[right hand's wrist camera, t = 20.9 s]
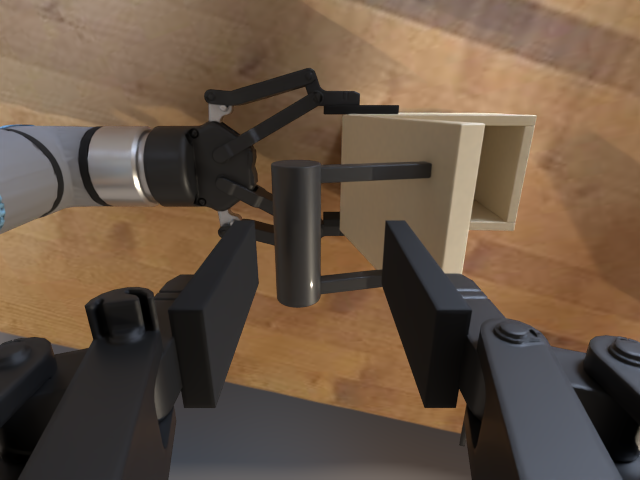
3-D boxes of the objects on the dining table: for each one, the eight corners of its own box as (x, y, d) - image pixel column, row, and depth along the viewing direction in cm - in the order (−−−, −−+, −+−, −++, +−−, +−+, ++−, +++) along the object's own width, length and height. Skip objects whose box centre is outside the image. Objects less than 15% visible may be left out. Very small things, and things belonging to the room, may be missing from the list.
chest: (485, 113, 39) (537, 115, 28) (471, 200, 42) (513, 231, 32) (346, 112, 40) (348, 114, 29) (344, 198, 43) (345, 227, 33)
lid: (486, 123, 14) (276, 125, 13) (454, 328, 18) (284, 354, 16) (355, 114, 29) (248, 115, 27) (351, 229, 32) (256, 237, 30)
